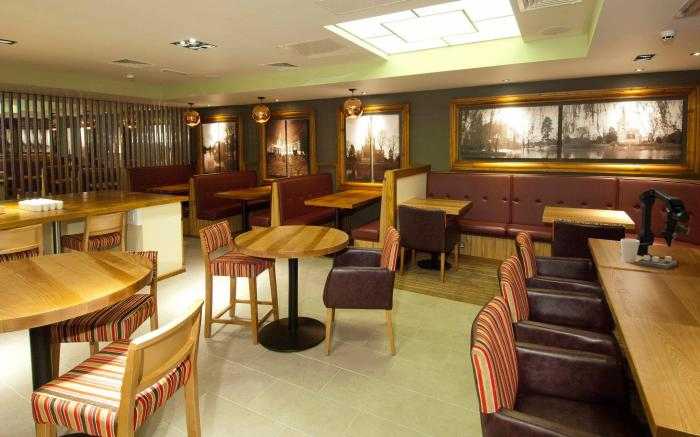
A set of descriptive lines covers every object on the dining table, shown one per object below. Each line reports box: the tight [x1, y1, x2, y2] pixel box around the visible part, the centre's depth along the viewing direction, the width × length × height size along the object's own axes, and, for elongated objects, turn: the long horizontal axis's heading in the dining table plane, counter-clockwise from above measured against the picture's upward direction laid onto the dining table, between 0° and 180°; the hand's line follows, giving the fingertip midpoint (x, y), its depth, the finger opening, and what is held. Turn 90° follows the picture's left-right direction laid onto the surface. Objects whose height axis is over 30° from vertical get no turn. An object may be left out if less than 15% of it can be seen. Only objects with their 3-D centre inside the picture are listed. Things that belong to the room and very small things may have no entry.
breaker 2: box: [664, 255, 672, 262], centre depth 249 cm, size 2×3×3 cm
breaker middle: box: [652, 255, 660, 262], centre depth 249 cm, size 2×3×3 cm
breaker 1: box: [642, 255, 651, 261], centre depth 252 cm, size 2×3×3 cm
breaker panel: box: [637, 256, 678, 270], centre depth 251 cm, size 16×15×2 cm
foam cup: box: [620, 238, 640, 264], centre depth 258 cm, size 10×9×13 cm
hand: (669, 246), depth 249 cm, fingers closed
